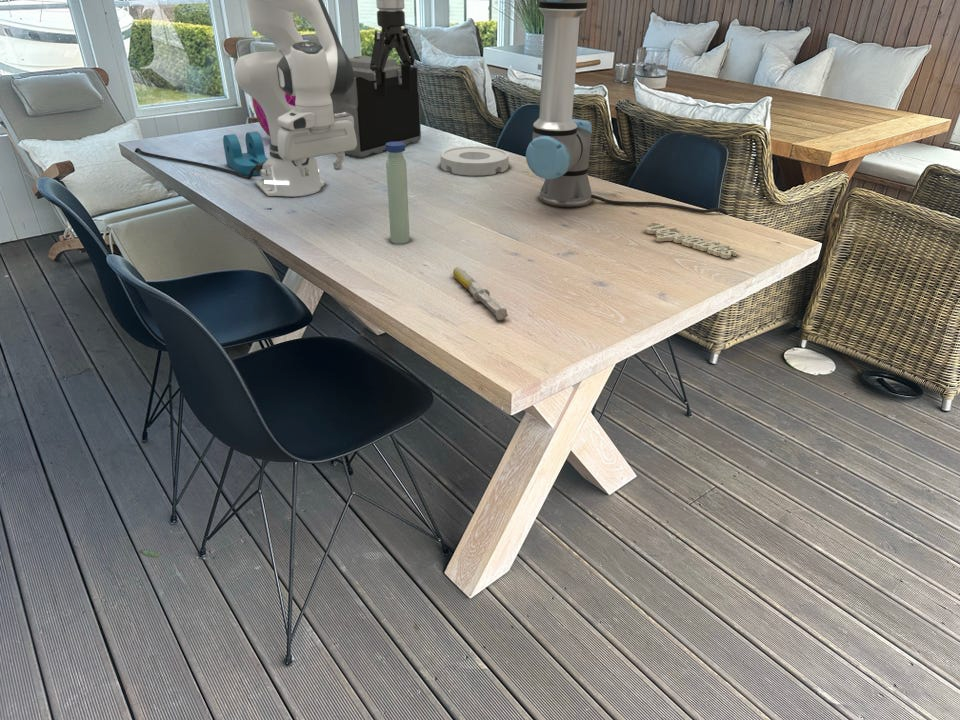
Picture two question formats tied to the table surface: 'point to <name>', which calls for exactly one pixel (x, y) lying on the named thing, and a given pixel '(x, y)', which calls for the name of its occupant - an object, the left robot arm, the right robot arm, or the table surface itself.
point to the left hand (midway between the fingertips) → (321, 172)
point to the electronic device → (380, 107)
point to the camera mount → (244, 160)
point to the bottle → (397, 198)
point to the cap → (395, 147)
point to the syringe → (479, 293)
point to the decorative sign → (689, 240)
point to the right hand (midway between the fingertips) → (394, 93)
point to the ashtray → (474, 160)
